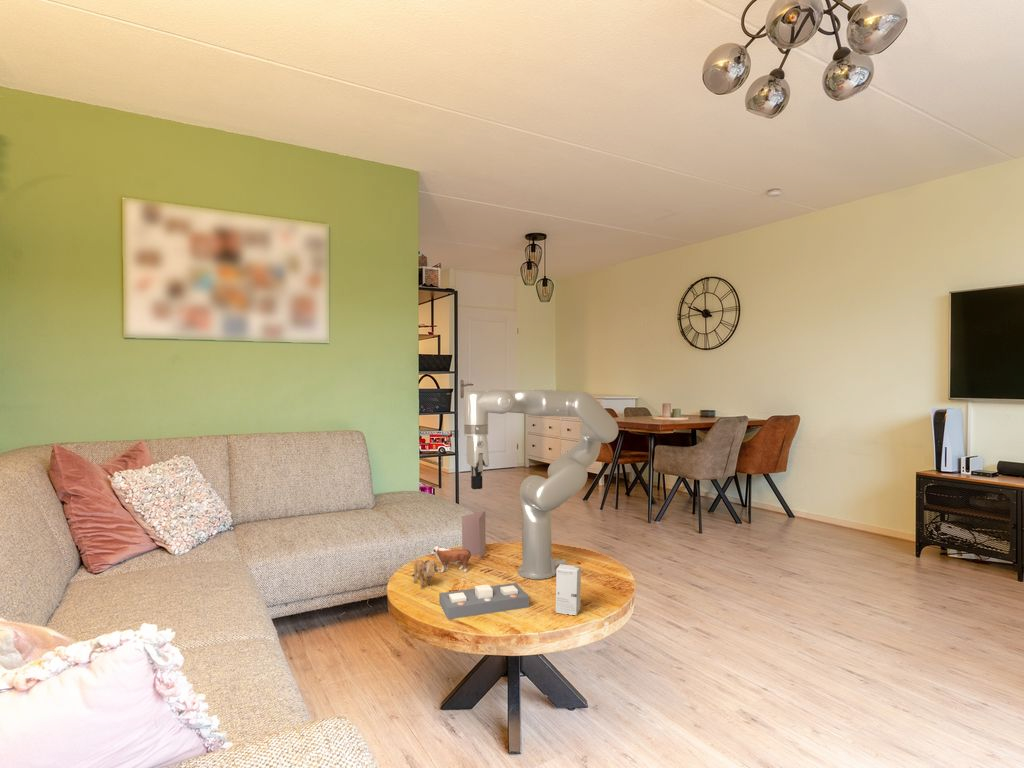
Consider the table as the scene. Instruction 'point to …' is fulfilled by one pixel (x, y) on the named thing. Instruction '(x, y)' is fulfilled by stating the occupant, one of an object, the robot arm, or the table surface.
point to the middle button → (483, 591)
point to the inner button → (508, 590)
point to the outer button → (457, 597)
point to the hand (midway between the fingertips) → (476, 488)
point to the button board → (483, 602)
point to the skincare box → (568, 589)
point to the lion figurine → (425, 571)
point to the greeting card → (474, 533)
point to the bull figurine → (452, 557)
